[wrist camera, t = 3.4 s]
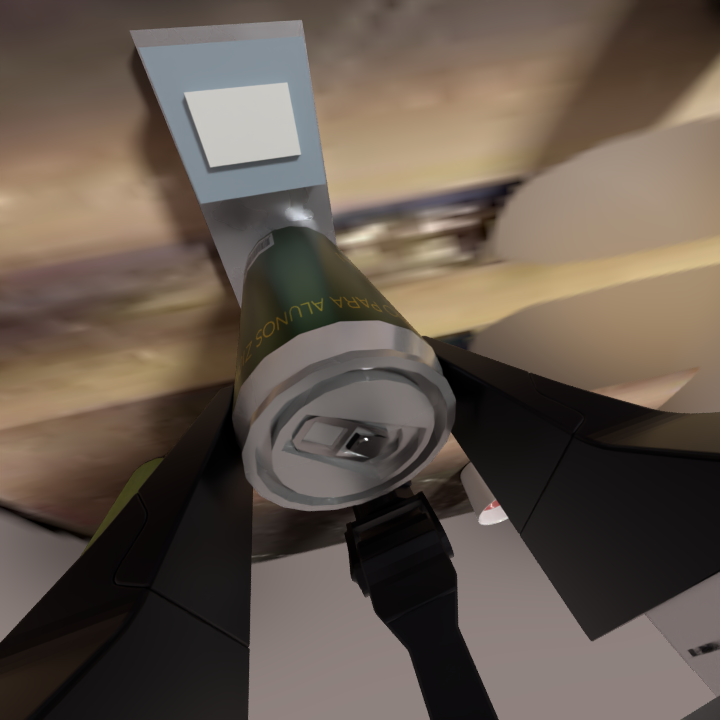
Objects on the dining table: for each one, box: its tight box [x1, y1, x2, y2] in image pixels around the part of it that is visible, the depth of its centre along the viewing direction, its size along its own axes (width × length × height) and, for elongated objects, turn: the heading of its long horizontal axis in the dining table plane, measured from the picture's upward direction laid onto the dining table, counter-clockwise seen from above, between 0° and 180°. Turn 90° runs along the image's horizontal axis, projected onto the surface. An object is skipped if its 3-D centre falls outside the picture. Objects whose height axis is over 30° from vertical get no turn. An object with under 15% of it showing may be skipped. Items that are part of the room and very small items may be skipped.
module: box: [139, 36, 326, 204], centre depth 13 cm, size 5×6×3 cm
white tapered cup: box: [460, 462, 508, 525], centre depth 42 cm, size 9×9×6 cm
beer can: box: [232, 226, 456, 511], centre depth 11 cm, size 5×5×12 cm
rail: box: [130, 20, 337, 308], centre depth 18 cm, size 20×7×1 cm, turn 7°
